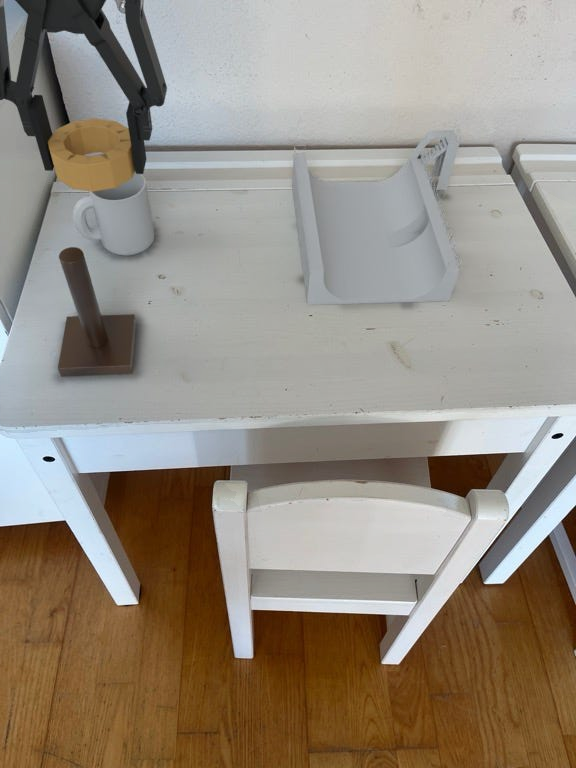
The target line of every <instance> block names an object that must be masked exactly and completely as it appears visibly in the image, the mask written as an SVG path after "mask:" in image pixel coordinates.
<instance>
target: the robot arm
mask: <svg viewBox="0 0 576 768" xmlns="http://www.w3.org/2000/svg"><path fill="white" fill-rule="evenodd" d="M14 1H15V3H17V4H18V5H19V6H20V8H21V9H22V10H23V11H24V12H25V13H26V14H27V17H26V18H27V19H26V23H25V29H24V35H23V37H24V40H23V44H22V50H21V55H20V60H19V66H18V70H17V75H16V81H14V80H12V73H11V63H10V51H9V41H8V33H7V22H6V11H5V3H6V2H7V0H0V101H2V100H6V101H9V102H11V103H13V105H15V107H16V109H17V112H18V115H19V118H20V121H21V125H22V128H23V132H24V133H25V134H26V136H27V137H35V141H36V144H37V149H38V151H39V155H40V158H41V161H42V165H43V168H44V171H49V172H53V171H54V169H55V168H54V164H53V161H52V157H51V153H50V149H49V146H48V140H49V139H50V137H51V136H52V135H53V131H52V126H51V123H50V120H49V115H48V112H47V107H46V105H45V100H44V97H43V94H33V91H34V90H35V82H36V77H37V73H38V69H39V63H40V60H41V55H42V50H43V45H44V39H45V35H46V33H49V34H50V33H52V34H56V33H57V34H58V33H60V32H66V33H67V32H68V33H71V34H73V35H74V34H76V35H84V36H85V38H86V39H87V42H88V43H89V44H90V45H91V46H93V47H94V48H95V49H96V51H97V53H98V55H99V56H100V57H101V60H102V61H103V62H104V64H105V66H106V67H107V69H108V70H109V72H110V73H111V75H112V76H113V78H114V80H115V82H116V83H117V85H118V87H119V88H120V90H121V91H122V92H123V94H124V96H125V98H126V99H127V101H128V105H127V109H126V113H125V115H126V121H127V122H126V123H127V128H129V135H130V141H131V147H132V153H133V159H134V166H135V172H136V174H143V175H144V173H145V169H146V168H145V167H146V163H147V153H146V146H145V145H146V144H145V141H147V142H150V140H151V136H152V134H153V133H152V132H153V121H152V114H151V108H152V107H159V108H160V107H162V106H164V104H165V100H166V95H167V91H168V86H167V82H166V79H165V76H164V72H163V70H162V66H161V63H160V60H159V56H158V52H157V49H156V46H155V43H154V40H153V37H152V34H151V30H150V27H149V24H148V20H147V17H146V13H145V11H144V4H145V3H144V0H114V2H115V4H116V8H117V10H118V12H120V13H121V14H124V16H125V24H126V28H127V32H128V34H129V37H130V40H131V44H132V46H133V50H134V52H135V56H136V58H137V61H138V65H139V67H140V71H141V74H142V77H143V80H144V82H143V80H142V78H141V77H140V75H139V74H138V72H137V70H136V68H135V66H134V65H133V63H132V62H131V60H130V58H129V57H128V55H127V53H126V52H125V49H123V47H122V45H121V43H120V42H119V40H118V38H117V36H116V35H115V33H114V32H113V30H112V28H111V24H110V22H109V20H108V17H107V16H106V14H105V12H104V11H103V8H104V6H105V4H106V1H107V0H14Z"/></svg>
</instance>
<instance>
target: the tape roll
mask: <svg viewBox="0 0 576 768" xmlns="http://www.w3.org/2000/svg"><path fill="white" fill-rule="evenodd" d="M52 134H53V135H52V136H51V137H50V139H49V140H48V146H49V149H50V153H51V157H52V161H53V164H54V168H53V169H54V171H55V175H56V178H57V180H58V181H59V182H61V183H63V184H64V185H65V186H67V187H69V188H71V189H73V190H78V191H79V190H80V191H86V192H89V191H92V192H93V191H100V190H105V189H111V188H116V187H118V186H119V185H121V184H123V183H125V182H126V181H128V180H130V179H131V178H132V177H133V175H134V173H135V166H134V159H133V153H132V147H131V141H130V135H129V128H128V126H125V125H123V124H122V123H120V122H118V121H115V120H110V119H102V118H96V117H95V118H86V119H79V120H74V121H71V122H69V123H67V124H65V125H63V126H60V127H58V128H56V129H55V130H54V132H52ZM96 153H100V154H96ZM101 153H102V154H101ZM90 154H95V155H90Z"/></svg>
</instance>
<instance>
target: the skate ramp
mask: <svg viewBox="0 0 576 768" xmlns="http://www.w3.org/2000/svg"><path fill="white" fill-rule="evenodd" d="M445 124H454V126H453V125H449V126H447V125H446V126H445ZM453 127H454V128H453ZM456 127H457V128H456ZM445 128H453V129H445ZM459 133H460V134H459ZM461 138H462V133H461V131H460V128H459V127H458V123H457V122H455V121H454V122H453V121H452V122H451V121H449V122H444V123H443V129H442V130H440V129H439V130H437V129H436V130H430V131H429V132H427V133H425V135H424V136H423V137H422V139H421V140H420V142H419V143H418V145H417V146H416V147H415V149H413V152H411V154H410V156H409V157H408V158H407V160H406V161H405V163H404V164H403V166H402V167H401V168H400V169H399V170H398V171H397V172H396V173H395V174H393V175H391V176H390V177H388V178H386V179H382V180H379V181H342V182H341V181H339V182H337V181H334V182H332V181H325V180H321V179H319V178H317V177H316V176H314V174H312V173H311V172H310V170H309V167H308V161H307V155H306V152H296V150H297V149H296V146H299V147H300V146H301V147H302V146H304V147H305V148H306V146H307V145H306V144H301V145H300V144H297V145H296V144H295V145H294V147H293V156H292V157H293V159H292V179H291V181H292V182H291V189H292V196H293V197H292V198H293V205H294V211H295V220H296V227H297V235H298V243H299V251H300V260H301V266H302V267H301V268H302V276H303V284H304V289H305V290H304V291H305V299H306V306H316V305H317V306H318V305H353V304H356V305H357V304H359V305H360V304H387V303H388V304H391V303H425V302H426V303H428V302H450V300H451V298H452V294H453V292H454V288H455V286H456V283H457V279H458V277H459V274H460V271H461V266H462V263H463V261H462V259H461V255H460V253H459V250H458V247H457V244H456V242H455V239H454V236H453V232H452V229H451V227H450V224H449V222H448V219H447V216H446V212H445V210H444V207H443V205H442V201H441V198H440V195H439V193H438V191H441V190H442V191H444V193H443V198H444V197H445V195H446V191H447V190H448V187H449V183H450V180H451V177H452V173H453V168H454V165H455V161H456V158H457V154H458V151H459V147H460V142H461V140H462V139H461ZM437 140H438V142H437V144H434V147H431V148H430V149H428V150H427V152H424V153H423V150H424V149H425V148H426V147H427V145H428V144H429V143H431V142H433V141H437ZM422 153H423V154H424V155H422ZM433 161H434V163H433V168H432V172H431V170H430V167H429V164H430V163H431V162H433ZM428 170H429V171H428ZM433 177H435V179H433ZM437 177H438V179H437ZM436 181H437V185H436ZM438 199H439V200H438ZM441 207H442V208H441ZM446 222H447V223H446ZM449 231H450V232H449ZM452 239H453V240H452ZM456 250H457V252H456ZM458 256H459V258H458Z"/></svg>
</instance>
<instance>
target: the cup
mask: <svg viewBox="0 0 576 768" xmlns="http://www.w3.org/2000/svg"><path fill="white" fill-rule="evenodd" d="M151 208H152V207H151V203H150V197H149V190H148V185H147V180H146V176H145V175H144V173H143V174H136V172H135V173H134V175H133V177H132V178H131V179H130V180H128V181H126V182H125V183H123V184H121V185H119V186H118V187H116V188H111V189H105V190H100V191H93V192H92V191H88V195H83V196H82V197H81V198H79V199H78V200H77V201H76V203H75V204H74V206H73V211H72V221H73V225H74V227H75V229H76V231H77V233H79V235H80V236H81V237H82V238H84V239H85V240H88V241H91V242H93V241H94V242H98V241H101V244H102V246H103V247H104V248H105V249H106V250H107V251H109V252H110V253H113V254H115V255H118V256H127V257H129V256H135V255H139V254H142V253H143V252H144V251H147V250H148V249H149V248H150V247H151V246H152V244H153V242H154V240H155V235H156V234H155V227H154V221H153V215H152V214H153V213H152V209H151ZM90 209H92V210H93V214H94V218H95V221H96V226H97V227H95V228H91V227H90V225H89V223H88V221H87V211H89V210H90Z"/></svg>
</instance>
